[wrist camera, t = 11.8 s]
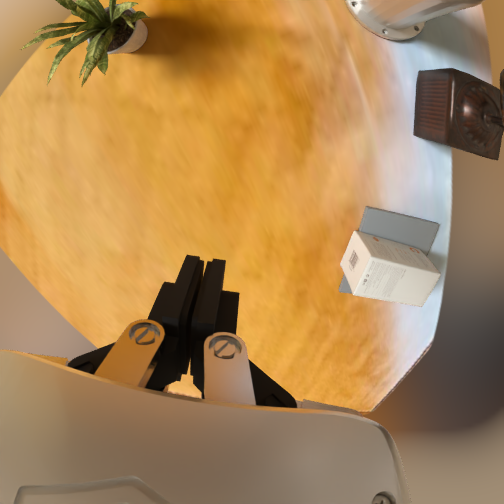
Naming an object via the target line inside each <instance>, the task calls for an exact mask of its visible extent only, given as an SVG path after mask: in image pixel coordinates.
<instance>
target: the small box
mask: <svg viewBox="0 0 504 504" xmlns="http://www.w3.org/2000/svg"><path fill="white" fill-rule="evenodd" d="M340 265H341V267H342V269H343V271H344V274H345V276H346V278H347V281H348V283H349V285H350V288H351V290H352V293H353V295H356V296H361V297H367V298H373V299H378V300H384V301H390V302H396V303H402V304H408V305H414V306H419V307H423V305H424V303H425V302H426V300H427V298H428V297H429V295H430V293H431V292H432V290H433V288H434V287H435V285H436V283H437V281H438V279H439V277H440V275H441V274H440V272H439V271H438V270H437V269H436V268H435V266H434V265H433V264H432V262H431V261H430V260H429V259H428V258H427V257H426V256H425V255H424V254H423V252H422V251H421V250H420V249H418V248H414V247H411V246H408V245H404V244H401V243H398V242H394V241H391V240H387V239H384V238H380V237H377V236H373V235H370V234H366V233H363V232H359V231H356V230H354V232H353V234H352V237H351V239H350V241H349V244H348V246H347V249H346V251H345V254H344V256H343V259H342V261H341V263H340Z"/></svg>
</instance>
